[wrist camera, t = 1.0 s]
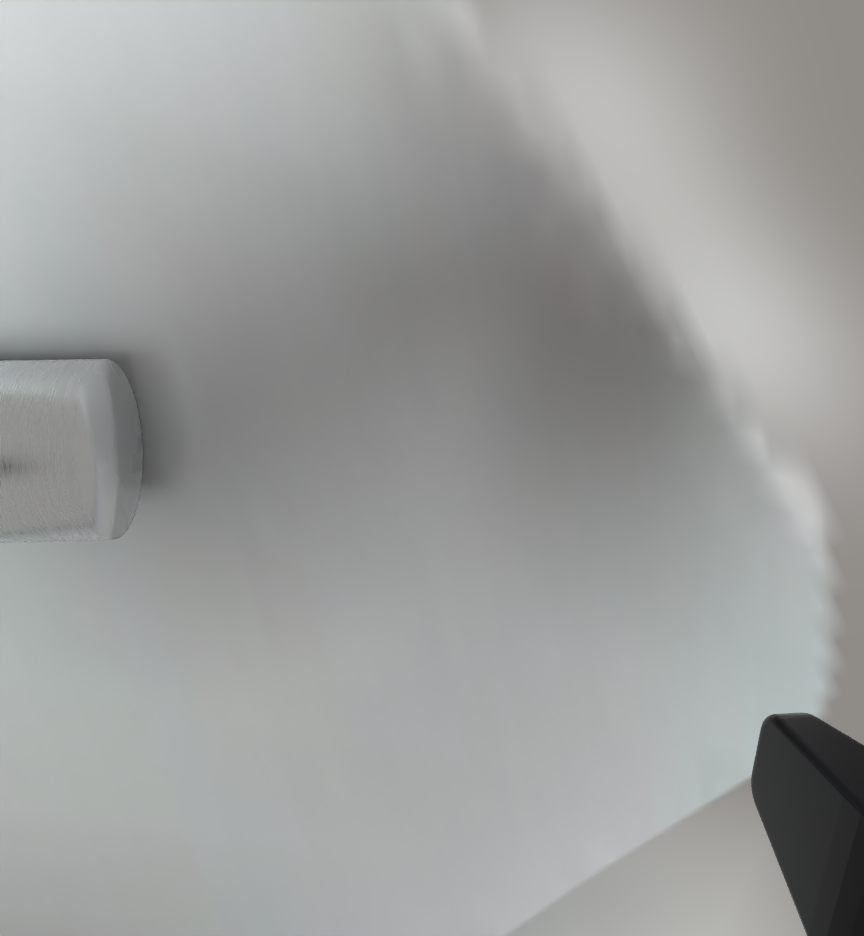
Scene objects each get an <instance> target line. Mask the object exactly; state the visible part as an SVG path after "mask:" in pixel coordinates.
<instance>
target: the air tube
mask: <svg viewBox="0 0 864 936" xmlns="http://www.w3.org/2000/svg"><path fill="white" fill-rule="evenodd" d="M142 471H143V444H142V432H141V424H140V418H139V412H138V408H137V404H136V400H135V397H134V393H133V390H132V388H131V385H130V383H129V381H128V379H127V377H126V375H125V373H124V372H123V370H122V369H121V368H120V366H119V365H118V364H116V363H115V362H114V361H112V360H109V359H74V360H9V361H0V543H9V542H41V541H73V540H105V539H117V538H119V537H121V536H122V535H123V534H124V533H125V532H126V531H127V529H128V528H129V526H130V524H131V522H132V520H133V518H134V515H135V512H136V509H137V505H138V501H139V496H140V490H141V483H142Z"/></svg>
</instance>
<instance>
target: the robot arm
mask: <svg viewBox="0 0 864 936" xmlns="http://www.w3.org/2000/svg"><path fill="white" fill-rule="evenodd" d="M751 787H752V794H753V798H754V802H755V804H756V807H757V810H758V812H759V815H760V817H761V820H762V822H763V825H764V828H765V830H766V832H767V835H768V837H769V840H770V843H771V845H772V848H773V850H774V853H775V855H776V858H777V861H778V863H779V866H780V868H781V871H782V873H783V875H784V878H785V881H786V883H787V886H788V888H789V891H790V893H791V896H792V898H793V901H794V904H795V906H796V909H797V911H798V914H799V916H800V919H801V921H802V924H803V926H804V929H805V932H806V934H807V936H864V745H862V744H860V743H859V742H857V741H856V740H854V739H852V738H851V737H849V736H847V735H846V734H844V733H842V732H841V731H839V730H837V729H835V728H834V727H832V726H830V725H829V724H827V723H825V722H824V721H822V720H820V719H819V718H817V717H815V716H813V715H811V714H808V713H787V714H773V715H770V716H768V717H767V718H766V719H765V720H764V722H763V723H762V727H761V731H760V736H759V741H758V746H757V751H756V756H755V761H754V766H753V771H752V778H751Z"/></svg>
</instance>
